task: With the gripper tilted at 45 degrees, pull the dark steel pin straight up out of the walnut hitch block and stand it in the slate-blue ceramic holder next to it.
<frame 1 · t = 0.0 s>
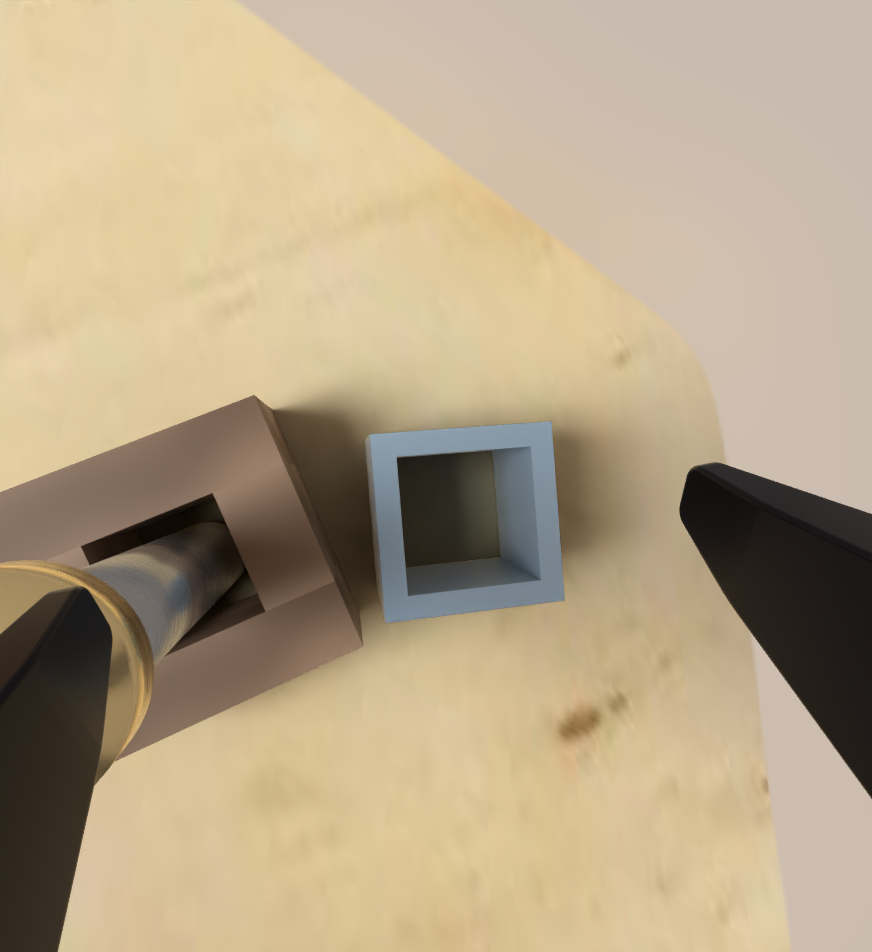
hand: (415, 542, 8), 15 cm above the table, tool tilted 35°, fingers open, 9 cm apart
pin: (149, 597, 15), in the hitch block
holder: (444, 508, 23), on the table
hitch block: (209, 557, 22), on the table
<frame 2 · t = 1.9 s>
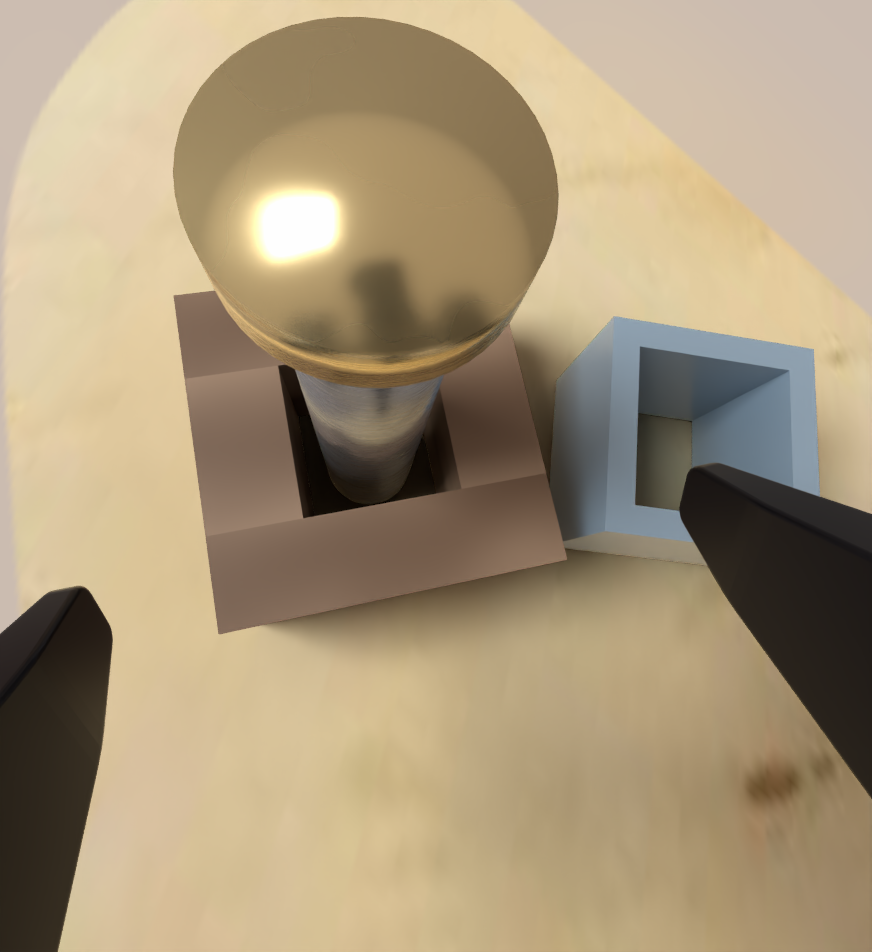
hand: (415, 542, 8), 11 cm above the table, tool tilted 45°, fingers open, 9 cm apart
pin: (370, 396, 13), in the hitch block
holder: (632, 471, 20), on the table
hitch block: (369, 464, 19), on the table
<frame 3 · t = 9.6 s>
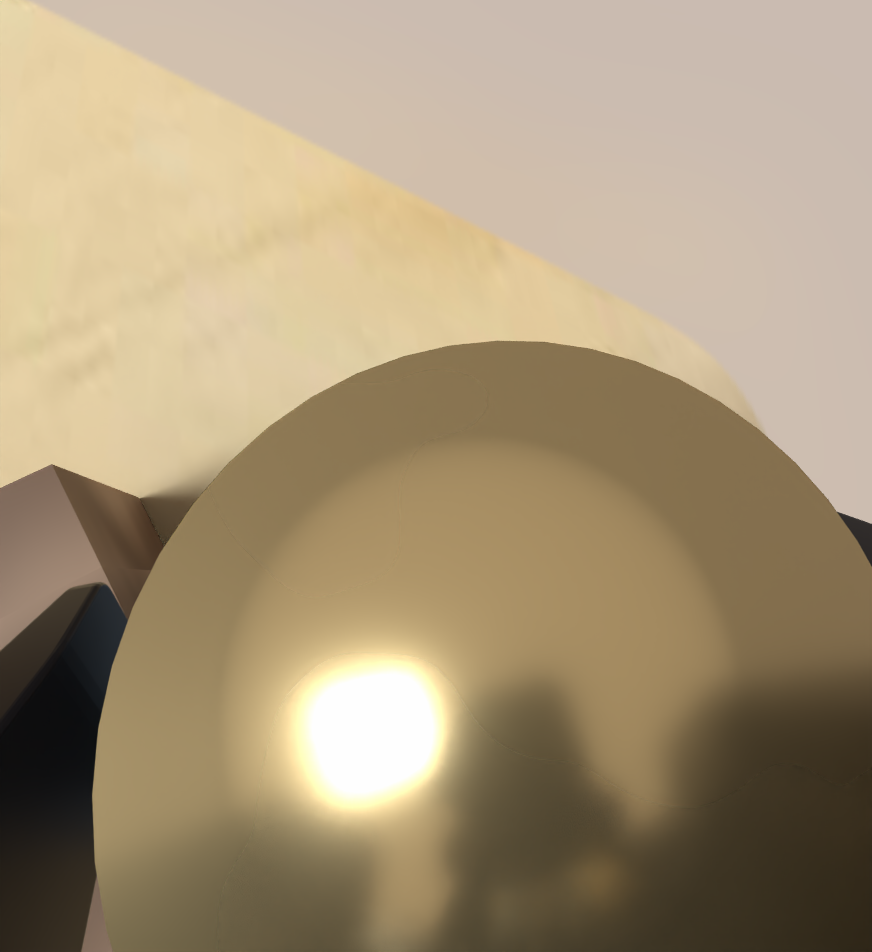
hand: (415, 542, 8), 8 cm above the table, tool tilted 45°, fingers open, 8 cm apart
pin: (421, 631, 9), in the holder
hitch block: (46, 730, 14), on the table
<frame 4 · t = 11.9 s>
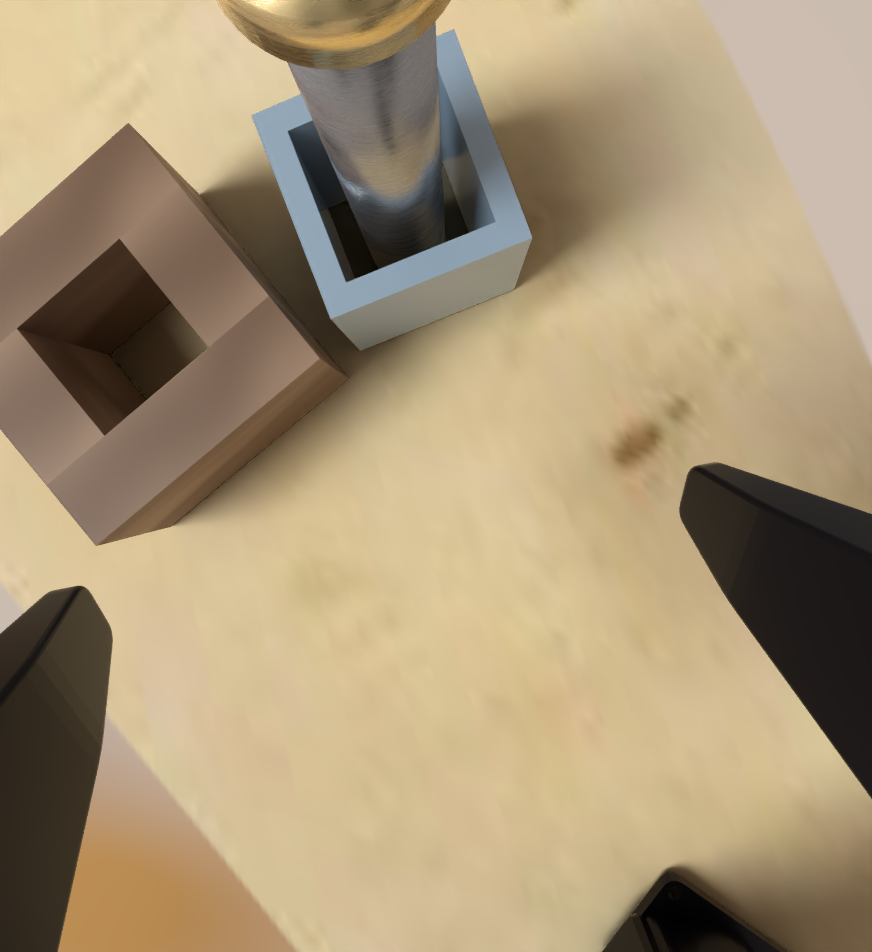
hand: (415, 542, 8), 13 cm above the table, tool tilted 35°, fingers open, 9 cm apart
pin: (385, 146, 14), in the holder
holder: (406, 242, 21), on the table
hitch block: (184, 362, 21), on the table
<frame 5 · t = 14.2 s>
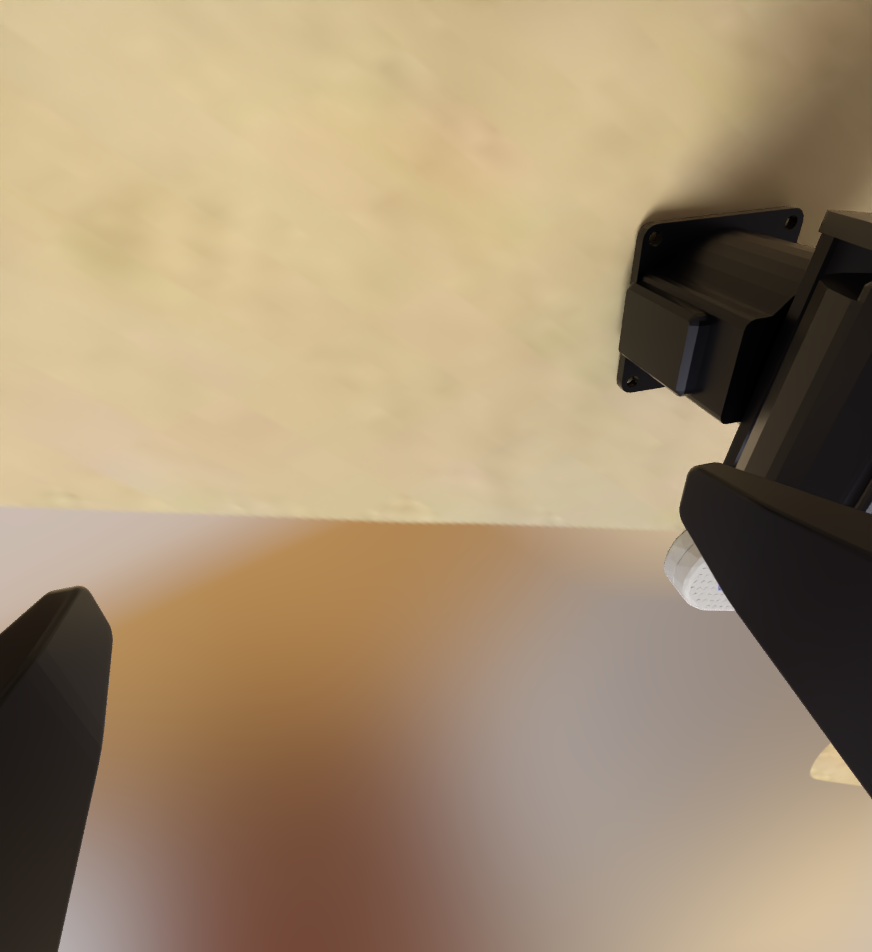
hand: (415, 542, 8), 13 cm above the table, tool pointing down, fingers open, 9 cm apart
electronic device: (767, 547, 33), on the table
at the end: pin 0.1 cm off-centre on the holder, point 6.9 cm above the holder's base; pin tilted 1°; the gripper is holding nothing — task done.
